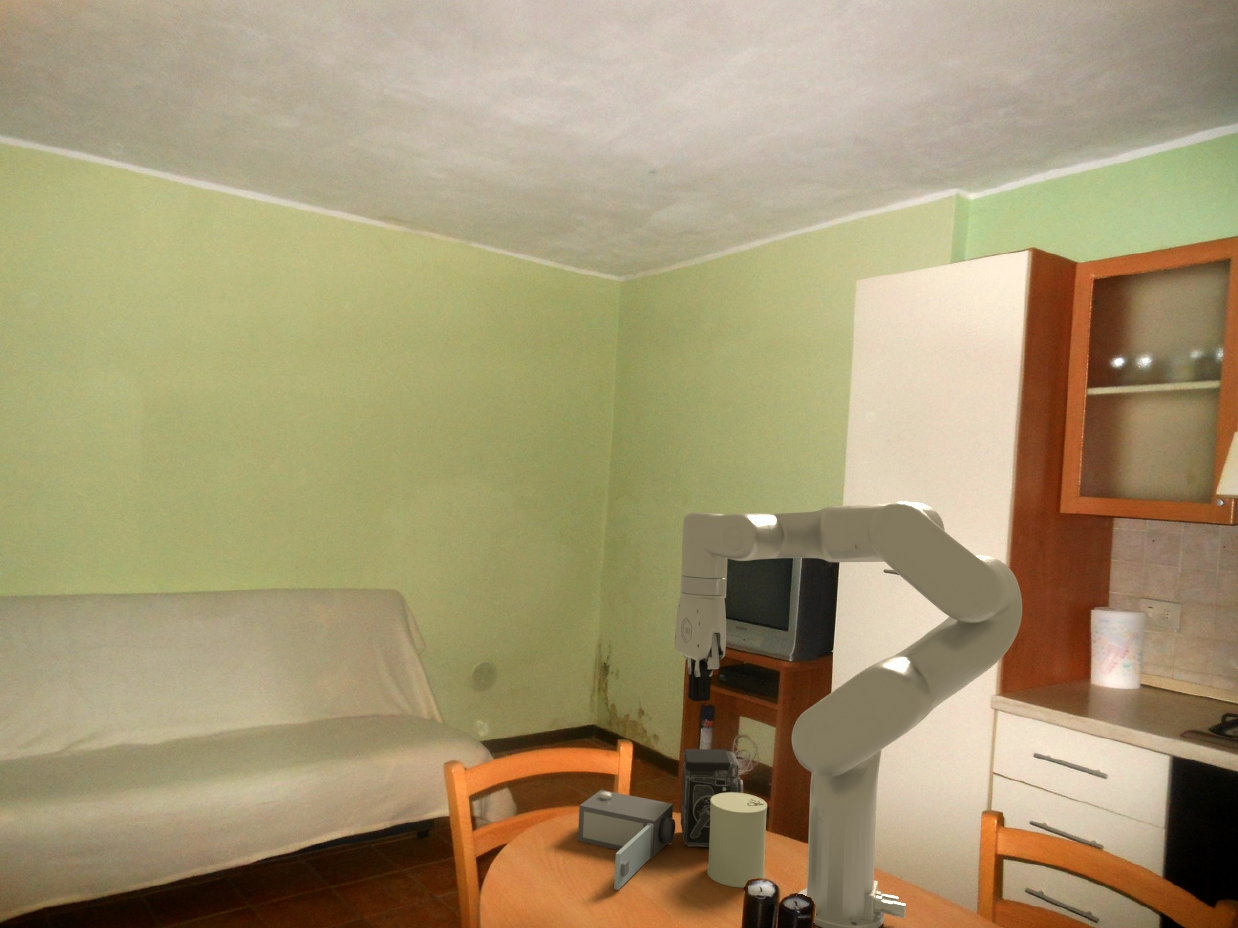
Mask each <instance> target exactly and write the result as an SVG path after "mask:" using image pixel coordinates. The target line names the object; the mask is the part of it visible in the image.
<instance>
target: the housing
mask: <svg viewBox="0 0 1238 928" xmlns="http://www.w3.org/2000/svg"><path fill="white" fill-rule="evenodd" d="M578 810H579V811H578V830H577V831H578V832H577V841H579V842H583V843H585V844H586V843H587V844H591V845H596V846H600V847H605V848H610V849H613V850H614V849H615V850H618V851H619V850H620V849H621V848H622V847H623V846H624V845H626V844H627V843H628V842H629V841H630V840H631V839H632V838H633V837H634V836H636V835H637V834H638V833H639V832H640V831H641V830H642V829H643V828H644V827H646V826H647V824H648V823H652V824H654V827H653V851H652V858H655V856H656V855H657V854H658V853H659V852H660V851H661V850H662V849H663V848H665V846H666V845H671V844H672V843H673V841H674V839H675V834H676V821H675V820H676V819H674V818H673V815H674V814H673V813H674V803H670V802H666V801H661V800H660V801H659V800H655V799H650V798H644V797H639V796H634V795H628V794H625V793H624V794H623V793H619V792H615V791H610V790H609V791H608V790H603V789H600V790H598V792H596V793H595V794H593V795H591V796H590V797H588V798H587V799H586V800H585V801H583V802H582V803H581V804H580V805H579V808H578Z"/></svg>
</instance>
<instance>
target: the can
mask: <svg viewBox="0 0 1238 928" xmlns="http://www.w3.org/2000/svg"><path fill="white" fill-rule="evenodd" d="M710 803H711V804H710V841H709V847H708V862H707V863H708V864H707V869H706V870H707V871H706V873H707V875H708V877H709V878H710V879H712V880H713V881H714V882H716V883H718V884H721V885H723V886H726V887H732V888H741V889H745V888H744V885H745V884H746V882H747V881H748V880H750V879H754V878H765V879H766V874H765V861H766V860H765V855H766V853H765V852H766V825H767V810H768V803H767V802H766V801H765V800H764V799H762V798H761V797H758V796H756V795H754V794H750V793H744V792H743V793H736V792H727V793H720V794H716V795H714V796H713V797H712V798H711V799H710Z"/></svg>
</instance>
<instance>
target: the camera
mask: <svg viewBox="0 0 1238 928" xmlns="http://www.w3.org/2000/svg"><path fill="white" fill-rule="evenodd" d="M683 760H684V762H683V764H682V780H681V781H682V782H681V785H682V786H681V807H680V810H681V811H680V826H681V832H682V833H681V834H682V841H683V843H684V844H685V845H686V846H687V847H688V848H691V847H702V848H703V847H704V848H706V847H707V848H709V841H710V804H711V803H710V799H711V798H712V797H713V796H714V795H716V794H720V793H727V792H736V793H744V782H743V779H741V777H740V776H739V769H740V768H739V767H740V766H739V762H738V759H737V757H736V754H735V753H734V752H733V751H729V750H728V751H727V750H726V749H722V748H721V749H720V748H719V749H715V748H714V749H711V748H710V749H709V748H708V749H707V748H704V749H701V748H692V749H691V748H686V749H684V750H683Z"/></svg>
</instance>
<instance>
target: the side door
mask: <svg viewBox="0 0 1238 928" xmlns="http://www.w3.org/2000/svg"><path fill="white" fill-rule="evenodd" d="M653 827H654V824H652V823H648V824H647V826H646V827H644V828H643V829H642V830H641V831H640V832H639V833H638V834H637V835H636V836H634V837H633V838H632V839H631V840H630V841H629V842H628V843H627V844H626V845H624V846H623V847H622V848H621V849H620V850H618V851H617V852H616V853H615V863H614V865H615V866H614V885H613V887H614V888H613V889H614V890H618V891H619V890H620V889H621V888H622V887H623V886H624V885H625V884H626V883H627V882H628V881H629V880H630V879H631V878H632V877H633V876H634V875H635V874H636V873H637V872H638V871H639V870H640V869H641V868H642V867H643V866H644V865H645V864H646V862H648V861H649V860H650V859H652V858H653V857H652V851H653Z"/></svg>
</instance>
